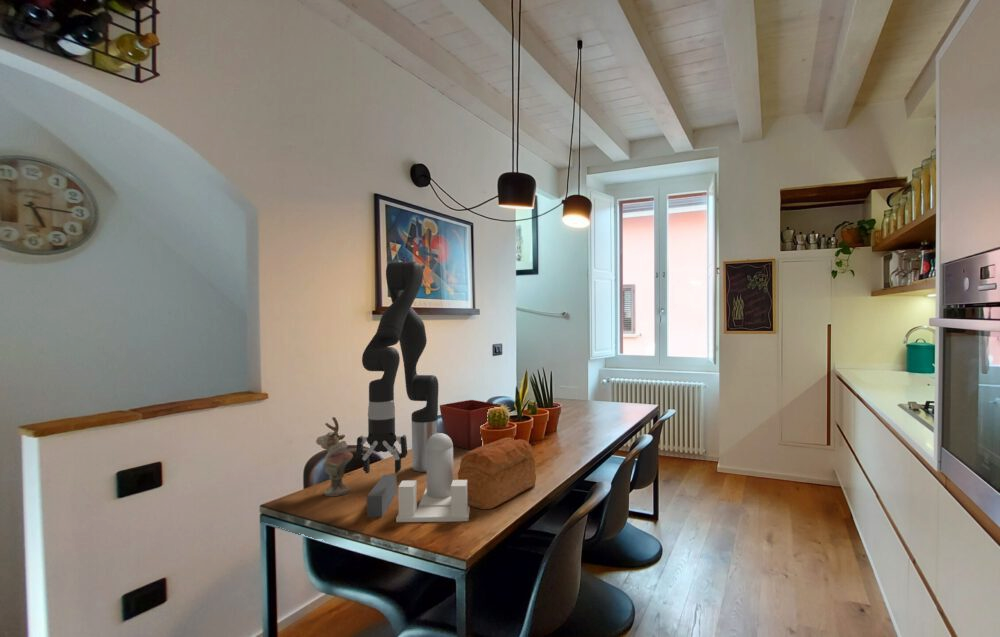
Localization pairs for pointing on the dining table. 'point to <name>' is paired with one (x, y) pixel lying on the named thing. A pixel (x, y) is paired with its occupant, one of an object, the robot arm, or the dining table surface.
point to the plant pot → (465, 421)
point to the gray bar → (381, 496)
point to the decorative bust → (335, 459)
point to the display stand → (435, 488)
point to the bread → (497, 472)
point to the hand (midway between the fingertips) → (382, 472)
